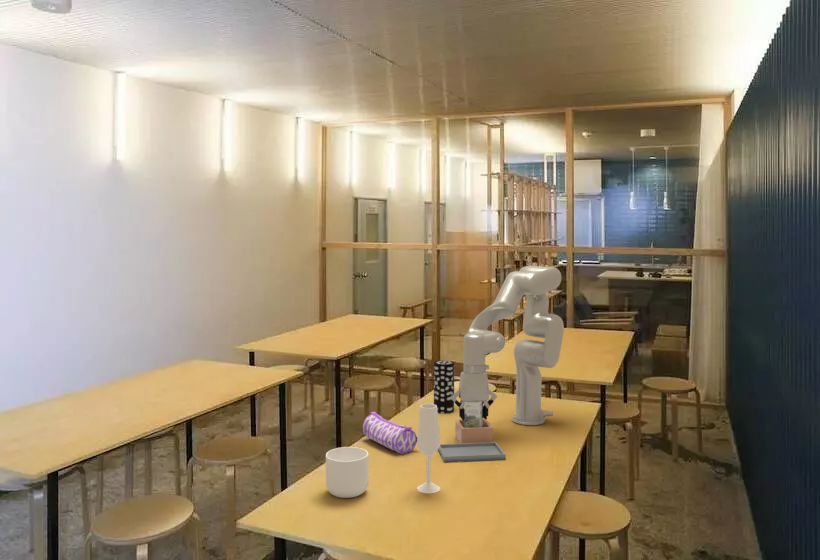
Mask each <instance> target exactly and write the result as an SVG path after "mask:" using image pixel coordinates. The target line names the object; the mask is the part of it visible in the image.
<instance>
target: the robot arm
mask: <svg viewBox="0 0 820 560" xmlns="http://www.w3.org/2000/svg"><path fill="white" fill-rule="evenodd" d="M561 282H562V273H561V272H560V270H559V268H556V267H554V266H539V265H526V266H522V267H521V268H520V269H519V270H518V271H517V270H516V271H511V272H509V273H508V274H507V276H506V277H505V279H504V282H502V283H503V284H502V285H501V287H500V290H499V291H498V293H497V296H496V297H495V299H494V301H493V303H492V304H490V305H489V306H487V307H485V309H483V310H482V311H481V312H480V313H478V315H476V316H475V317H474V319H473V320H472V323H471V325H469V329H468V331H467V333H466V334H464V337H463V347H462V349H463V353H462V355H463V357H462V358H463V360H462V361H463V363H462V364H463V366H462V367H463V368H462V369H463V371H461V372H460V375H459V383H458V384H459V385H458V390H456V392H454V394H453V395H452V396H451V399H452V400H453V401H454V405H456V406H457V407H458V408H459V409H458V410H459V414H458V415H459V418H460V419H462V420H464V419H465V409H464V405H465V402H474V401H483V419H486V420H487V419H488V417H489V409H490V406H491V405H493V404H494V402H495V400H496V399H497V398H498V396H497V394H496V393H495V392H493V391H492V390H490V388H489V387H490V385H489V379H488V377H489V376H488V373H487V371H486V370H489V369H490V366H489V364H488V365H487V364H486V354H496V353H499V352H501V351H502V350H503V349H504V347H505V345H506V338H505V337H504V335H503V334H502V333H500V332H498V331H493V330H488V329H487V328H488V327H490V325H492V324H494V323H496V322H498V321H502V320H504V319H507V318H509V317H511V316H512V317H513V315H515V314H516V312H517V309H518V308H519V305H520V303H521V301H522V299H523V298H524V296H526V304H525V310H524V314H523V315H524V316H523V323H522V331H523V334H525V335H526V336H528V337H532V338H541V339H544V341H540V340H534V339H521V340H519V341H518V342H516V344H515V346H514V349H513V355H514V356H513V357H514V361H515V370H516V372H515V374H516V377H515V378H516V382H515V384H516V385H515V386H516V387H515V388H516V390H515V393H516V394H515V395H516V396H515V397H516V398H515V414H514V415H512V417H511V420H512V422H513V423H515V424H518V425H523V426H540V425H542V424H545V422H546V419H545V418H546V417H554V411H553V410H552V411H551V410H550V411H548V410H546V409H545V410H543V409H542V381H543V379H542V373H541V370H540V368H545V369H552V368H554V367H556V366H557V365H558V362H559V360H560V355H561V349H562V343H563V337H564V333H565V332H564V331H565V326H564V321H563V319H562V317H561V316H559V315H557V314H554V313H548V312H549V304H550V300H549V296H548V292H552V291H554V290H556V289H558V287H559V286H560V284H561ZM490 396H491V397H490ZM489 397H490V398H489ZM457 398H459V399H460V401H459V400H457Z"/></svg>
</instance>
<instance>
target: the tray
mask: <svg viewBox="0 0 820 560" xmlns="http://www.w3.org/2000/svg"><path fill="white" fill-rule="evenodd" d="M438 450H439V451H438ZM438 450H437V451H438V453H439V452H440V453H439V455H440V454H441V455H440V457H441V459H442V461H443V463H458V461H464V462H480V461H481V462H484V461H503V460H504V461H506V456H507V455H506V452H505V451H504V450H503V449H502V448H501V446H500V445H499V443H497V441H493V442H485V443H440V447H439V449H438Z"/></svg>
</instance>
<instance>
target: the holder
mask: <svg viewBox="0 0 820 560" xmlns="http://www.w3.org/2000/svg"><path fill="white" fill-rule="evenodd" d="M454 427H455V429H454V431H455V432H454V433H455V438H456V440H457V441H458V444H460V443H485V442H494V427H493V426H492V425H491V423H490V422H489V421H488V420H487V419H484V418H483V427H476V428H464V420H462V419H461V418H460V419H459V418H458V419H455V426H454Z"/></svg>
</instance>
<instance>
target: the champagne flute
mask: <svg viewBox="0 0 820 560" xmlns="http://www.w3.org/2000/svg"><path fill="white" fill-rule="evenodd" d="M419 407H420V408H419V415H418V416H419V417H418V428H417V435H416V436H417V442H416V446H417V449H418V450H419V452H421V453H422V454H423V455H425V456H426V457H425V458H426V478H425V479H426V481H425V482H424V483H422V484H420V485H418V486H417V487H416V489H418V490H417V492H420V493H423V494H435V493H437V492H439V491H440V490H441V487H440V486H439V485H437V484H435V483H433V482H432V480H431V472H432V471H431V461H432V460H431V459H432V457H431V456H433V455H434V454H435V453H436V452H437V451H438V449H439V447H440V444H441V437H440V427H439V426H440V424H439V423H440V422H439V413H438V412H437V405H434V403H423V404H420V406H419Z"/></svg>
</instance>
